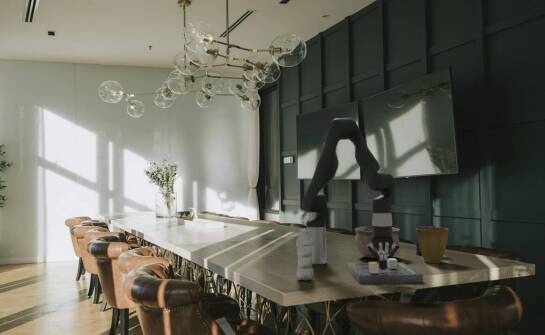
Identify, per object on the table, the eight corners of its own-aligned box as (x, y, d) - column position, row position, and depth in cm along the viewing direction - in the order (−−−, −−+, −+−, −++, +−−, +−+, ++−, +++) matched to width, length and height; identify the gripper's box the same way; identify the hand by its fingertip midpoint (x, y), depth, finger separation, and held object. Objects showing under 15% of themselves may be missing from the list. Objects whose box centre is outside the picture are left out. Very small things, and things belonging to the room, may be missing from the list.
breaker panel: (359, 283, 181) (359, 275, 181) (347, 270, 209) (347, 262, 209) (422, 282, 181) (422, 274, 181) (402, 269, 209) (402, 262, 209)
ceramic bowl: (396, 254, 251) (395, 226, 252) (403, 261, 230) (402, 230, 230) (353, 254, 254) (353, 226, 254) (356, 261, 232) (356, 230, 232)
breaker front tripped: (370, 273, 183) (370, 263, 183) (368, 271, 187) (368, 262, 187) (378, 273, 183) (378, 263, 183) (376, 271, 187) (376, 261, 187)
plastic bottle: (315, 281, 185) (314, 229, 185) (297, 282, 184) (297, 230, 185) (312, 278, 191) (311, 228, 192) (295, 278, 191) (294, 228, 191)
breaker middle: (389, 268, 193) (389, 260, 193) (387, 266, 197) (387, 258, 197) (397, 268, 193) (397, 260, 193) (394, 266, 197) (394, 258, 197)
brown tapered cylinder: (415, 253, 256) (415, 225, 256) (435, 253, 253) (434, 225, 254) (416, 255, 246) (415, 226, 247) (436, 256, 243) (435, 227, 244)
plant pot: (452, 265, 218) (451, 229, 218) (418, 264, 221) (417, 229, 221) (446, 259, 232) (446, 226, 233) (415, 259, 235) (414, 226, 236)
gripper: (367, 225, 182) (367, 271, 181) (401, 225, 182) (402, 271, 181) (363, 223, 189) (364, 268, 189) (396, 223, 189) (397, 267, 189)
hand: (383, 269), depth 185 cm, fingers closed
